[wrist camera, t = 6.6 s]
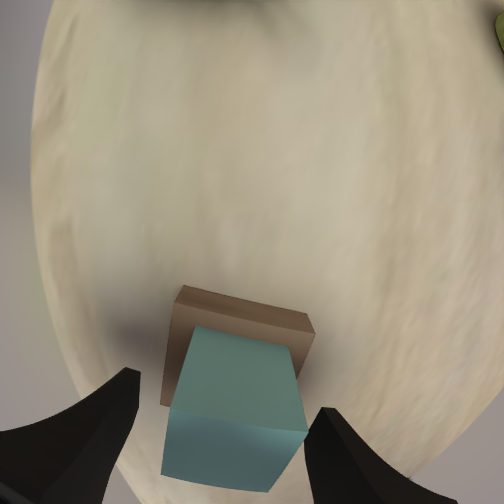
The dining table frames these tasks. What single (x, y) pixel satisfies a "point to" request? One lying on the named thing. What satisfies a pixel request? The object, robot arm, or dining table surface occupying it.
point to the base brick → (230, 329)
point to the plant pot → (500, 28)
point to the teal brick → (233, 413)
